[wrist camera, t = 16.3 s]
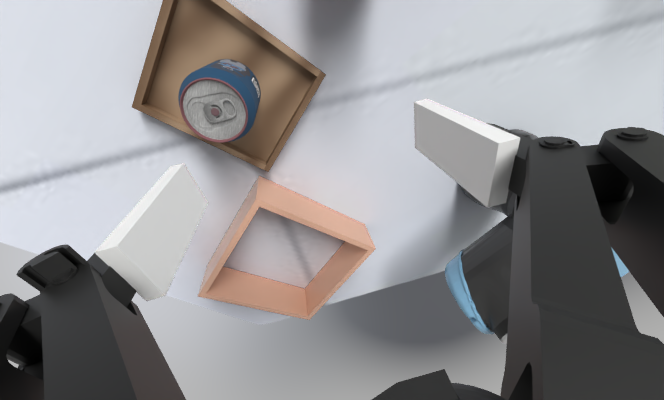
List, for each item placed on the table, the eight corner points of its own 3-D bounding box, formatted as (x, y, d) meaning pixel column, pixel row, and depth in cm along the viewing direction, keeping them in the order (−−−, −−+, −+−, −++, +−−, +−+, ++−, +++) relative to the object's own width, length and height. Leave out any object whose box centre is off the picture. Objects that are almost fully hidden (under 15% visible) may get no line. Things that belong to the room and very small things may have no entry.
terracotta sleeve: (364, 224, 51) (375, 248, 45) (306, 292, 60) (309, 319, 54) (259, 175, 41) (255, 198, 35) (206, 265, 50) (197, 296, 44)
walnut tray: (322, 72, 34) (325, 74, 32) (268, 164, 40) (268, 171, 38) (182, -33, 26) (174, -38, 24) (140, 102, 32) (131, 107, 30)
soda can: (220, 121, 34) (197, 156, 25) (193, 66, 31) (153, 82, 21) (268, 108, 35) (265, 137, 25) (248, 51, 31) (234, 60, 21)
